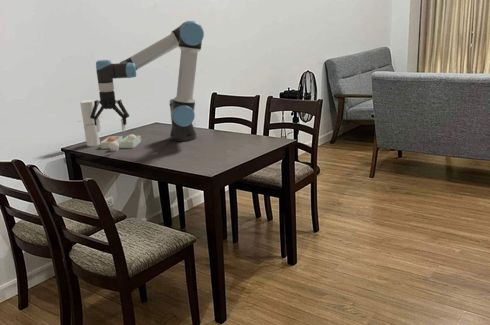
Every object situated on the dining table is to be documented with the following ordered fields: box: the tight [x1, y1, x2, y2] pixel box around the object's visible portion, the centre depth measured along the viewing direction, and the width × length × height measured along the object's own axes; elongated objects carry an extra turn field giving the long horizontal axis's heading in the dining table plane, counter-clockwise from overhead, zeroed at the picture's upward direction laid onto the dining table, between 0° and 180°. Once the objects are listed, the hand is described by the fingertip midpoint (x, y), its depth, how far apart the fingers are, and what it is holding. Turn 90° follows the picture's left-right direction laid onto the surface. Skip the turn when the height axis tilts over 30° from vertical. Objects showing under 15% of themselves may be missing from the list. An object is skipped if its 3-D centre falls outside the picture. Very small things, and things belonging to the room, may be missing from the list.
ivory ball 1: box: [109, 141, 120, 151], centre depth 259 cm, size 5×5×5 cm
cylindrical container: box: [79, 99, 101, 147], centre depth 271 cm, size 7×7×25 cm
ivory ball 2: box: [127, 134, 137, 142], centre depth 271 cm, size 5×5×5 cm
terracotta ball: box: [107, 135, 116, 142], centre depth 270 cm, size 5×5×5 cm
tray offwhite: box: [100, 135, 124, 150], centre depth 270 cm, size 8×13×4 cm, turn 174°
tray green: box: [119, 135, 142, 149], centre depth 269 cm, size 8×13×4 cm, turn 174°
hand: (111, 131), depth 257 cm, fingers open, 13 cm apart
